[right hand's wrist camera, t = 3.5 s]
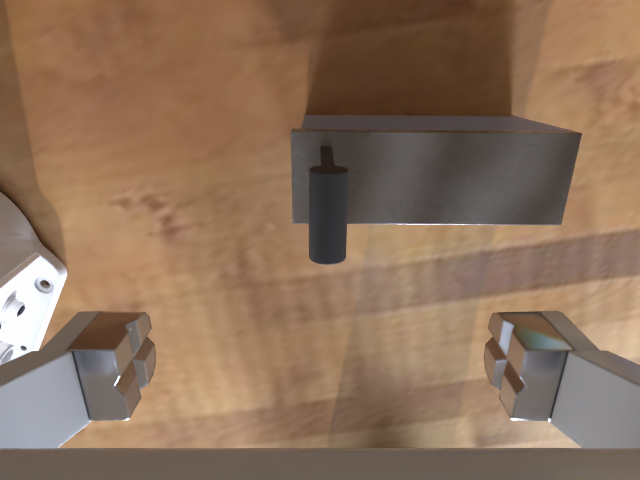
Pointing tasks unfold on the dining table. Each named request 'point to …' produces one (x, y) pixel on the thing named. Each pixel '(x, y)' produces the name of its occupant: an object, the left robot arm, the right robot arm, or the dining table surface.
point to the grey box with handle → (426, 180)
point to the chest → (423, 122)
